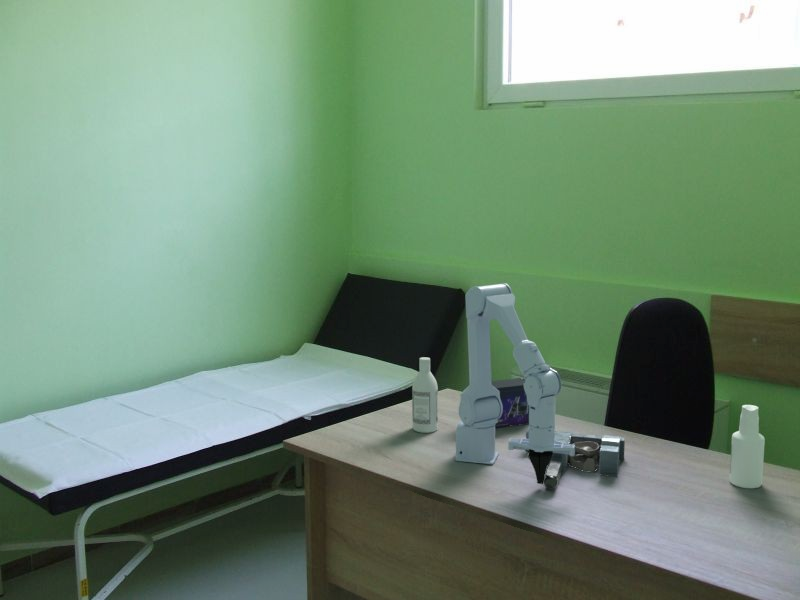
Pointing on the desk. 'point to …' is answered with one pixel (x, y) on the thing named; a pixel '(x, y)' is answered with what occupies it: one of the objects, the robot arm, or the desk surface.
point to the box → (512, 402)
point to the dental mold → (585, 456)
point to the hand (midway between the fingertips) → (540, 482)
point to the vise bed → (603, 450)
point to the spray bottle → (747, 450)
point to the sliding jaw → (557, 461)
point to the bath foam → (425, 399)
